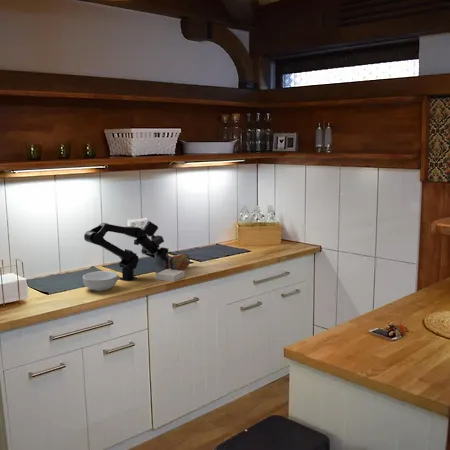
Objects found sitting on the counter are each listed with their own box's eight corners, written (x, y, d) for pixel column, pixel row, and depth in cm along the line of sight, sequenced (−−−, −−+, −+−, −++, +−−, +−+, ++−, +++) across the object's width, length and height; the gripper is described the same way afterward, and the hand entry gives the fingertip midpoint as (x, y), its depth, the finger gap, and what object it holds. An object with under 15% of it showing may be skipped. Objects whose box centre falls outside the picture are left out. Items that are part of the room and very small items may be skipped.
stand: (174, 281, 285) (173, 275, 284) (155, 279, 289) (155, 273, 289) (184, 276, 295) (184, 271, 294) (166, 274, 299) (166, 269, 299)
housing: (163, 273, 301) (163, 250, 298) (154, 272, 303) (154, 249, 301) (169, 271, 306) (168, 248, 304) (160, 270, 308) (159, 247, 306)
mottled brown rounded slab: (172, 272, 304) (172, 257, 303) (168, 271, 306) (168, 256, 305) (190, 267, 316) (190, 252, 315) (186, 266, 318) (185, 252, 317)
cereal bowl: (76, 289, 272) (75, 275, 271) (104, 282, 284) (104, 269, 283) (96, 296, 260) (95, 281, 259) (124, 288, 272) (124, 274, 271)
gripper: (165, 233, 291) (182, 250, 300) (145, 229, 305) (161, 246, 314) (153, 250, 287) (170, 267, 296) (133, 245, 301) (150, 261, 310)
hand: (163, 260), depth 304 cm, fingers closed on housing, 7 cm apart
